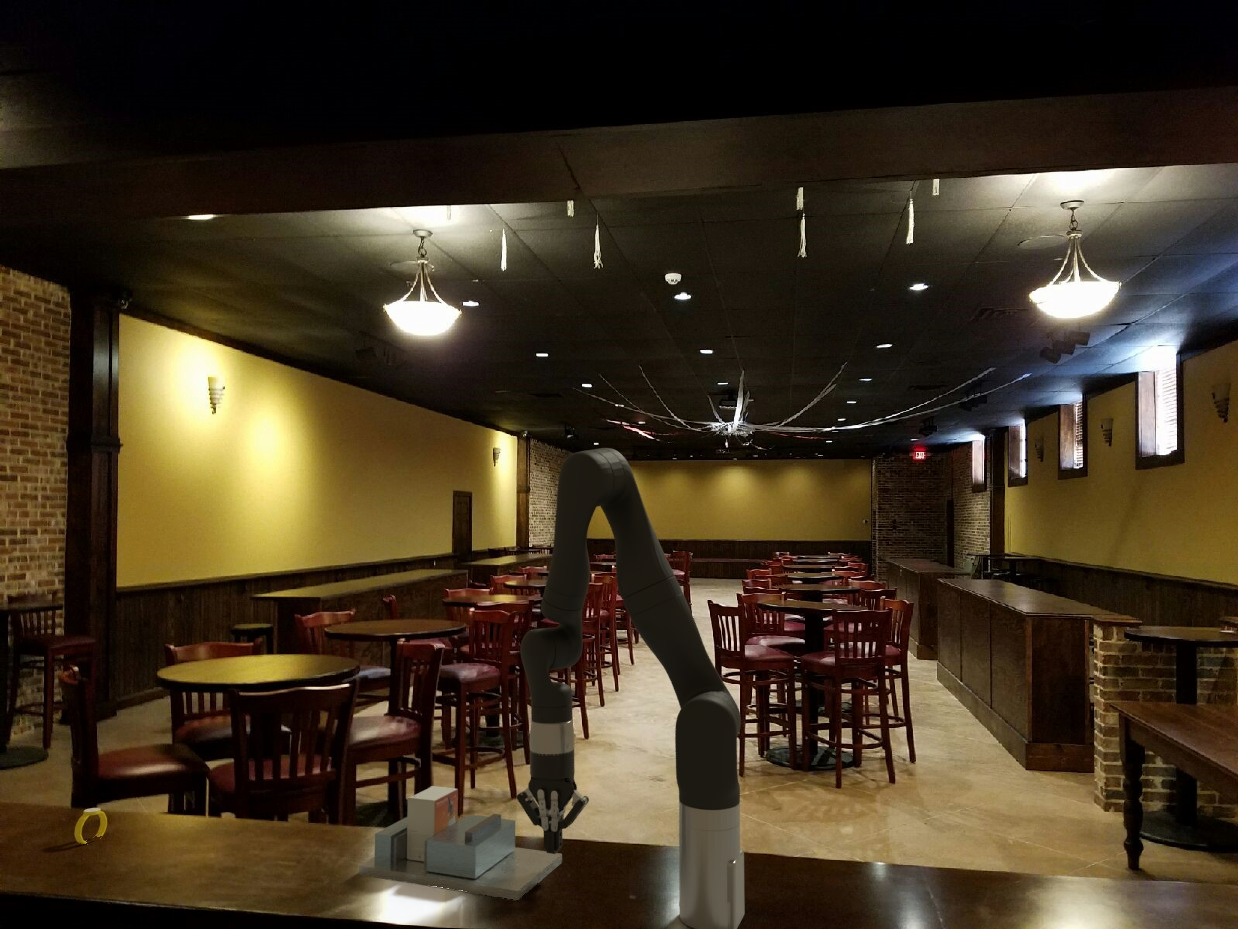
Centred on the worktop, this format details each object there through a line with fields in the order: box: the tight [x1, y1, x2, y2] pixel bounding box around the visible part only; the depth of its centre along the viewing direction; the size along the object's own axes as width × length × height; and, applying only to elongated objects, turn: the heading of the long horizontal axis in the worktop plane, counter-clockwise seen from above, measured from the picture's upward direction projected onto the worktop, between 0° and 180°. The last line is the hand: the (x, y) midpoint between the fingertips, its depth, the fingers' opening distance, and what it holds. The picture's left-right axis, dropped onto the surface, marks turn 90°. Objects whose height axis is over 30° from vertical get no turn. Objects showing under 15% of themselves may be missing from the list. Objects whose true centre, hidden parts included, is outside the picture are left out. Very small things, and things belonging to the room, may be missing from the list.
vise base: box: [358, 816, 563, 901], centre depth 151 cm, size 30×17×6 cm, turn 69°
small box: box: [406, 785, 459, 862], centre depth 154 cm, size 8×6×10 cm
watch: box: [74, 807, 108, 845], centre depth 164 cm, size 6×3×6 cm, turn 164°
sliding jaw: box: [424, 813, 516, 879], centre depth 151 cm, size 10×14×6 cm
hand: (552, 852), depth 147 cm, fingers closed
